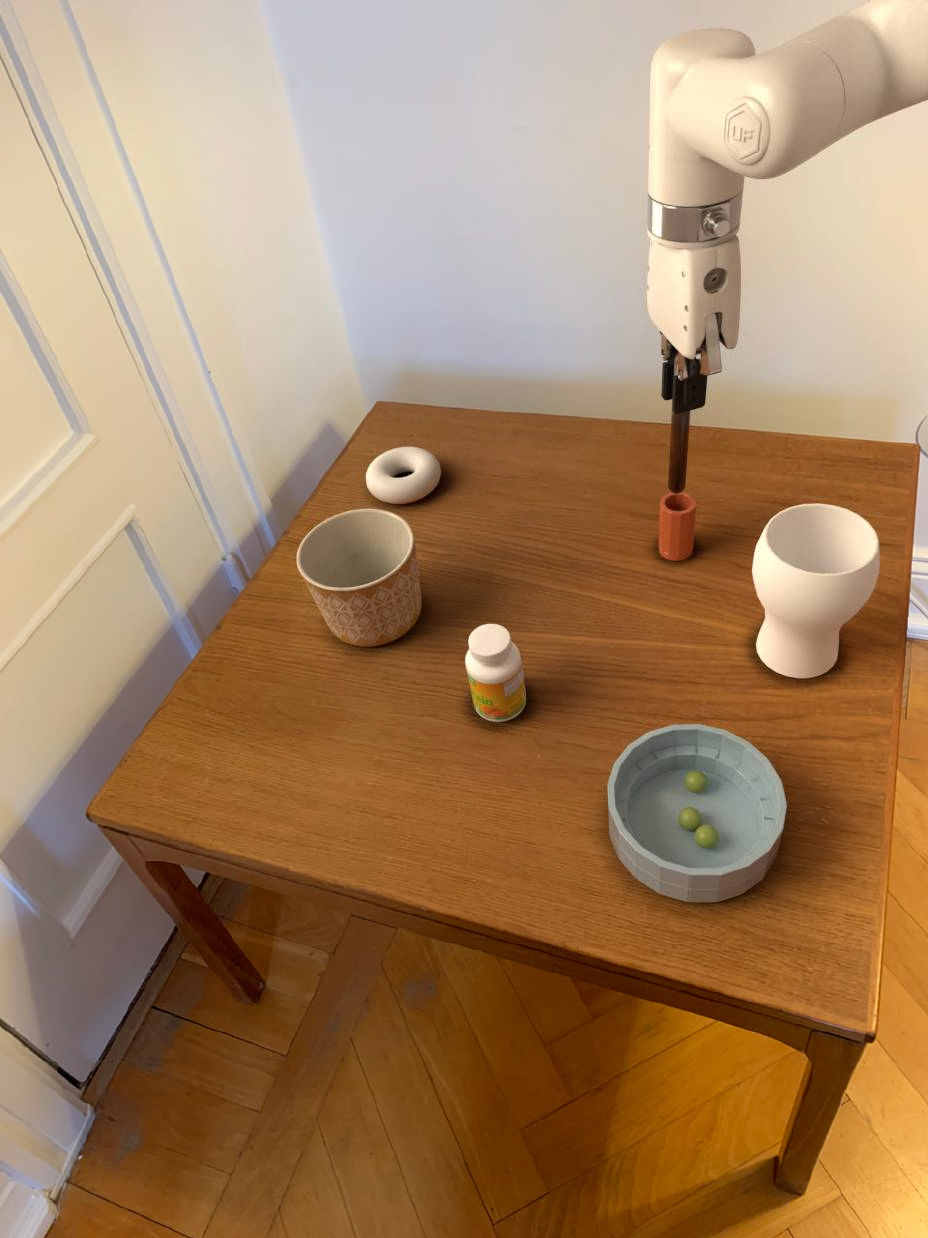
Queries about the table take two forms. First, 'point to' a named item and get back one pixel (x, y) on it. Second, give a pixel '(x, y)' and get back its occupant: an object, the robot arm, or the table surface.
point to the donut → (405, 487)
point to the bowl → (732, 803)
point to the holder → (677, 525)
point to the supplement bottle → (495, 673)
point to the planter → (363, 575)
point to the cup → (811, 584)
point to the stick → (678, 446)
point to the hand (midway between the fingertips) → (682, 401)
